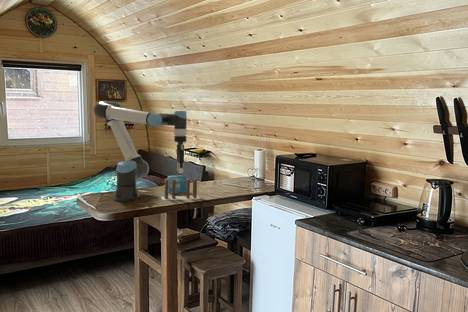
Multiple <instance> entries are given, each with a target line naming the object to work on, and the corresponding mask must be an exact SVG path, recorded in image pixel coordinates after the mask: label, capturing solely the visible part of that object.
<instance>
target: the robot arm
mask: <svg viewBox="0 0 468 312" xmlns="http://www.w3.org/2000/svg"><path fill="white" fill-rule="evenodd" d="M93 114H94V116H95V117H96V118H97V119H98V120H104V121H105V123H106V125H107V126H110V128H111V130H112V133H113V135H114V137H115V140H116V142H117V144H118V146H119V148H120V151H121V153H122V155H123V158H124V160H122V161H119V162H118V163H117V165H116V188H115V191H114V194H113V200H114V201H117V202H134V201H135V200H138V199H139V198H140V194H139V192H138V189H137V180H140V179H143V178H145V177H146V176H147V175H148V174H149V171H150V166H149V164H148V162H147V161H145V160H144V159H143V157H142V156H141V154H139V153H138V151H137V149H136V147H135V144H134V143H133V141H132V138H131V137H130V134H129V132H128V130H127V127H126V125H125V123H124V122H130V123H135V124H142V125H148V126H150V127H153V128H154V127H155V128H156V127H162V126H163V127H165V126H169V127H172V126H173V133H174V134H173V135H174V139H173V140H174V142H175V143H177V144H176V161H177V165H176V166H177V167H176V169H177V173H178V163H179V173H182V174H184V162H185V145H184V143H186V142H187V136H186V135H187V132H188V130H187V124H188V123H187V121H188V120H187V119H188V118H187V111H186V110H174V112H173V113H163V112H162V113H157V112H156V113H155V112H148V111H142V110H137V109H130V108H124V107H123V106H122V105H121V103H119V102H118V101H112V100H110V101H108V100H107V101H106V100H101V101H98V102H97V103H95V105H94V107H93ZM178 156H179V162H178ZM179 173H178V174H179Z"/></svg>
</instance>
